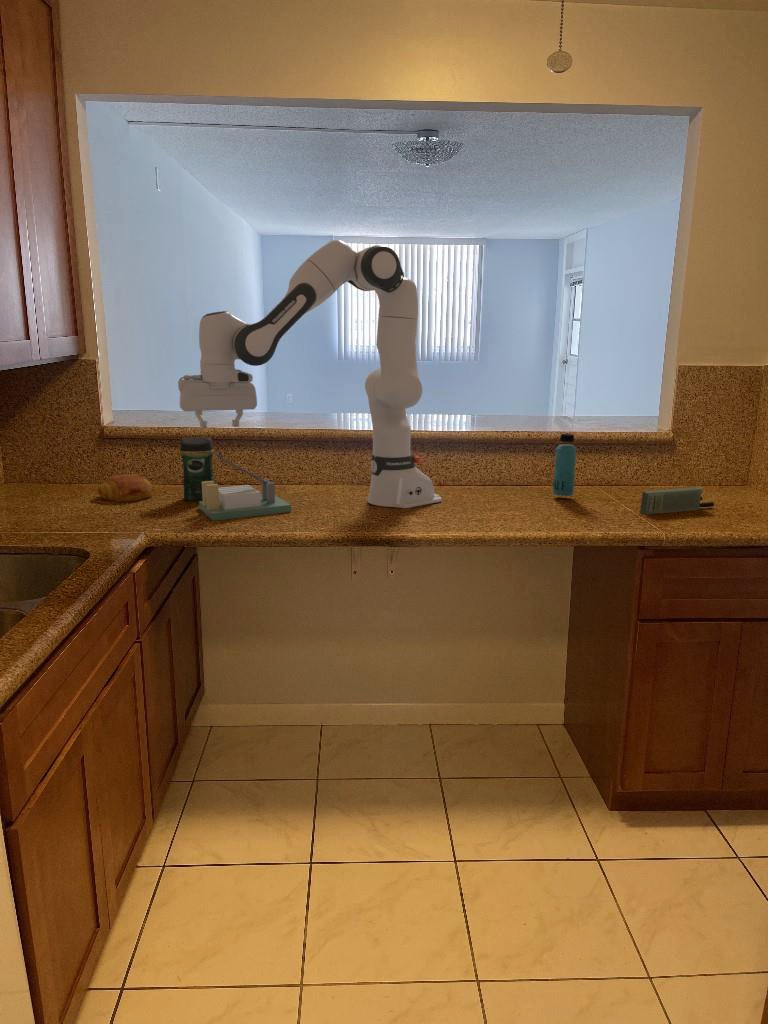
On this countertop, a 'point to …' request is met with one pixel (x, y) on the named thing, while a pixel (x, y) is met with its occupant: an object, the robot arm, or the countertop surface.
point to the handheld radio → (672, 500)
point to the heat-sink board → (240, 501)
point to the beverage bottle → (564, 467)
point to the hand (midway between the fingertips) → (219, 427)
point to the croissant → (125, 488)
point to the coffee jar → (196, 466)
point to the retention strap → (241, 468)
